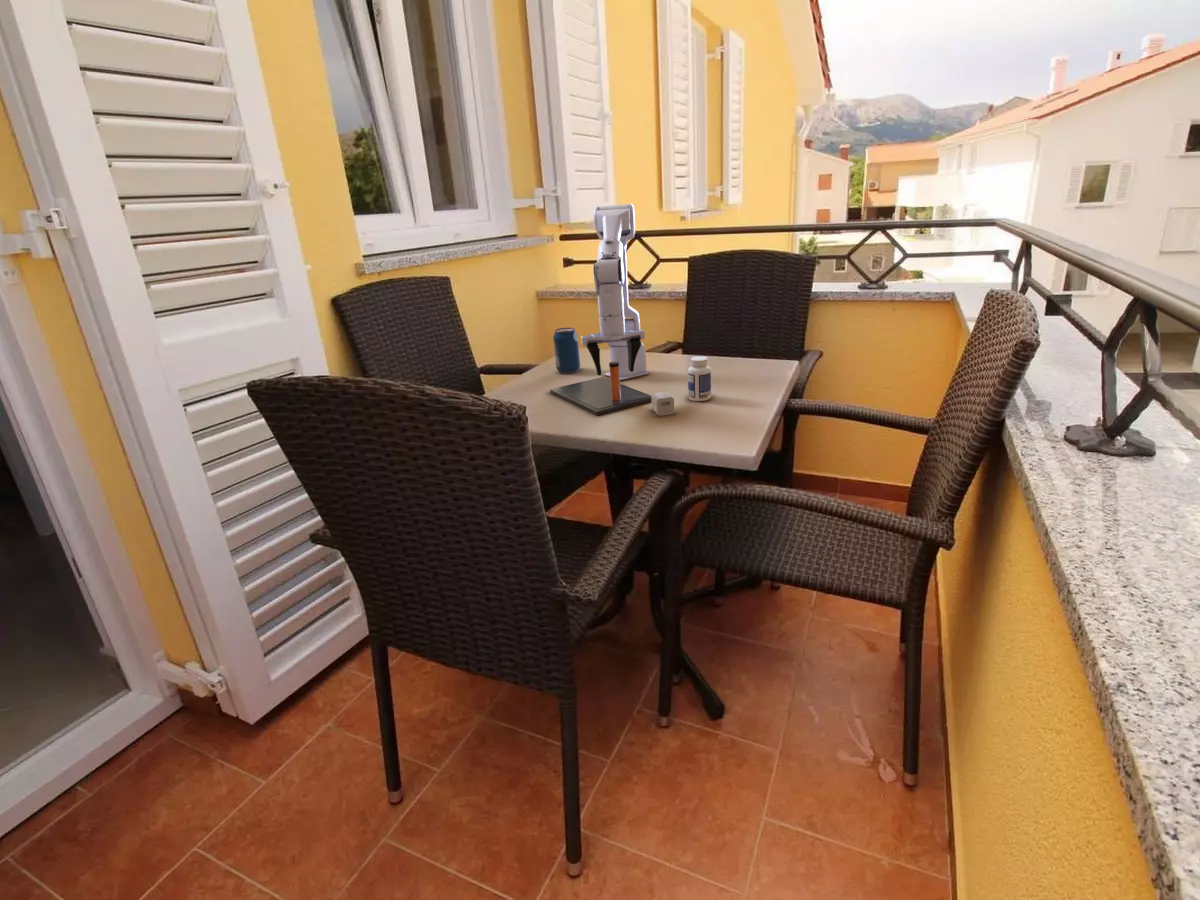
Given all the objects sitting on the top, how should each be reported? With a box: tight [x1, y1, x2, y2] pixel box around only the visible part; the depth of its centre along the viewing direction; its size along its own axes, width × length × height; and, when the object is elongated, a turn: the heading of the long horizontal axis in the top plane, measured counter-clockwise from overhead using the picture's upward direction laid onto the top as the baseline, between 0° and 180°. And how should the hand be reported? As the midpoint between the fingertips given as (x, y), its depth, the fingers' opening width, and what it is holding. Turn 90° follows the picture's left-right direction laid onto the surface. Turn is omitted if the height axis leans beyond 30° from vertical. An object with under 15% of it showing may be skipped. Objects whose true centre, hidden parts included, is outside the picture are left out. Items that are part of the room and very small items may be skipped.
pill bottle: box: [687, 355, 712, 402], centre depth 147 cm, size 5×5×10 cm
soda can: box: [552, 327, 581, 374], centre depth 179 cm, size 7×7×12 cm
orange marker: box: [608, 361, 621, 401], centre depth 148 cm, size 2×2×9 cm
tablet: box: [549, 376, 652, 416], centre depth 156 cm, size 16×24×1 cm, turn 31°
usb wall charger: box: [651, 391, 675, 417], centre depth 142 cm, size 4×7×4 cm, turn 11°
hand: (615, 372), depth 147 cm, fingers open, 7 cm apart
